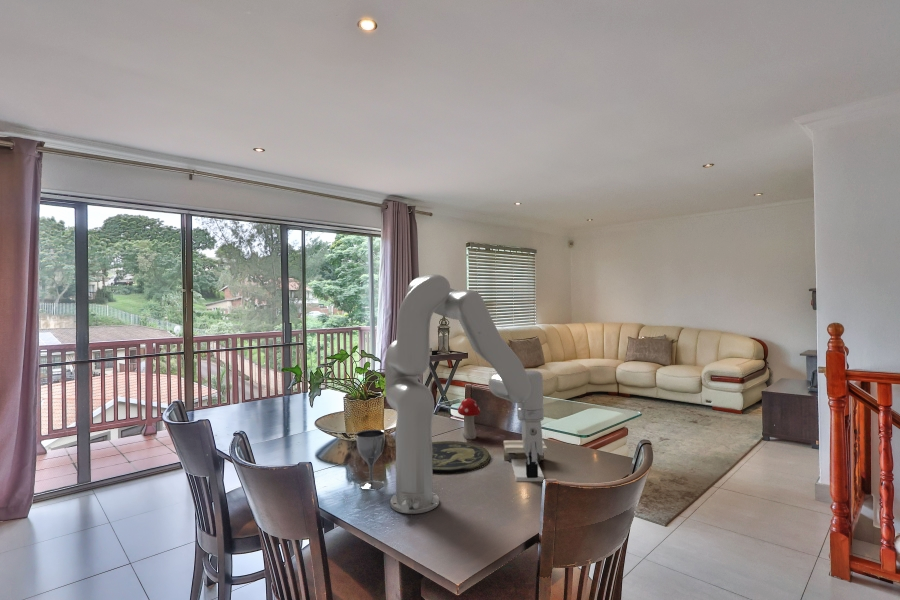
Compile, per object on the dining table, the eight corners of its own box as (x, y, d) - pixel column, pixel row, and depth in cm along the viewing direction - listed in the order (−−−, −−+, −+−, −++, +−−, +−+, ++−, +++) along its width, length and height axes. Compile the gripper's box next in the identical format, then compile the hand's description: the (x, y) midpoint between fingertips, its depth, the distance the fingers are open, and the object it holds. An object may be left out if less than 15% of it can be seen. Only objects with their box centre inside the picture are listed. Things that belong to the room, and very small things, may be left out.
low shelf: (547, 467, 146) (546, 447, 146) (505, 467, 146) (505, 447, 146) (543, 458, 154) (542, 440, 154) (503, 458, 154) (503, 440, 154)
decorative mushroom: (455, 434, 183) (454, 396, 183) (475, 432, 186) (474, 395, 186) (463, 441, 174) (462, 401, 174) (484, 439, 176) (484, 400, 176)
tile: (544, 484, 134) (544, 477, 134) (516, 484, 134) (516, 477, 134) (536, 465, 150) (536, 458, 150) (511, 465, 150) (511, 458, 150)
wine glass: (391, 484, 133) (390, 432, 133) (369, 493, 127) (368, 438, 127) (373, 478, 139) (372, 428, 139) (351, 486, 133) (350, 433, 133)
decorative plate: (388, 466, 144) (414, 438, 174) (388, 472, 144) (414, 443, 174) (484, 472, 138) (494, 442, 168) (484, 479, 138) (494, 447, 168)
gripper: (547, 420, 127) (549, 487, 127) (539, 407, 142) (541, 467, 142) (520, 420, 127) (522, 487, 127) (514, 408, 142) (516, 467, 142)
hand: (532, 476), depth 135 cm, fingers closed
